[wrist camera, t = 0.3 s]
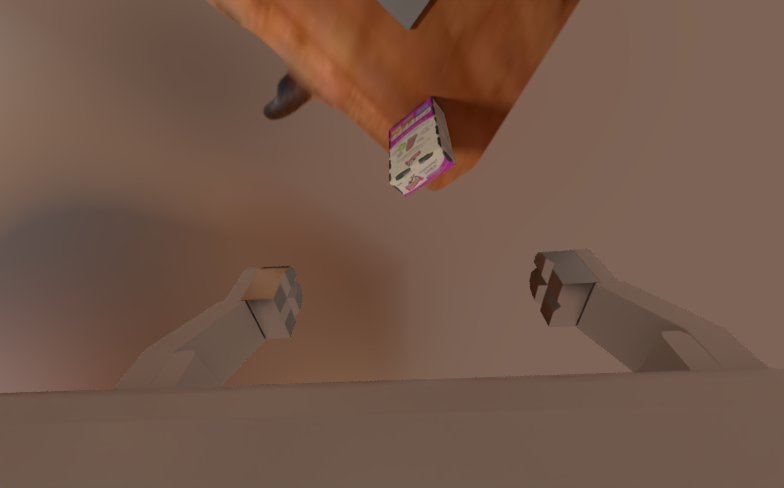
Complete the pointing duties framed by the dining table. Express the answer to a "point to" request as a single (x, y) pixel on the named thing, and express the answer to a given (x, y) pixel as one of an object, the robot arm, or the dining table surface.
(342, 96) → the dining table surface
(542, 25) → the dining table surface
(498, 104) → the dining table surface
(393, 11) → the white stack on tray
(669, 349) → the robot arm
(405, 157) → the candy bar box
